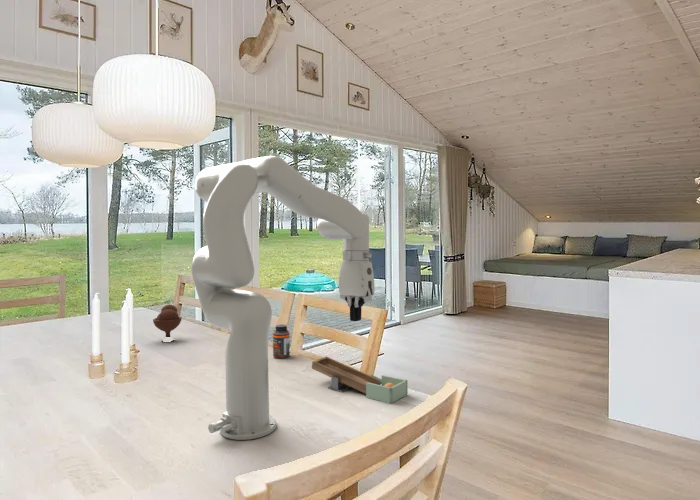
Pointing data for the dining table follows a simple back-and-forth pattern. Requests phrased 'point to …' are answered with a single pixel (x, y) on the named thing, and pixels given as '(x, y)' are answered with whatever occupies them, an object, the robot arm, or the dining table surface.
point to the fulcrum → (338, 385)
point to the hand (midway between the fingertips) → (355, 320)
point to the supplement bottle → (281, 342)
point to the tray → (387, 390)
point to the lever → (345, 373)
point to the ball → (389, 385)
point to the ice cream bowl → (167, 319)
